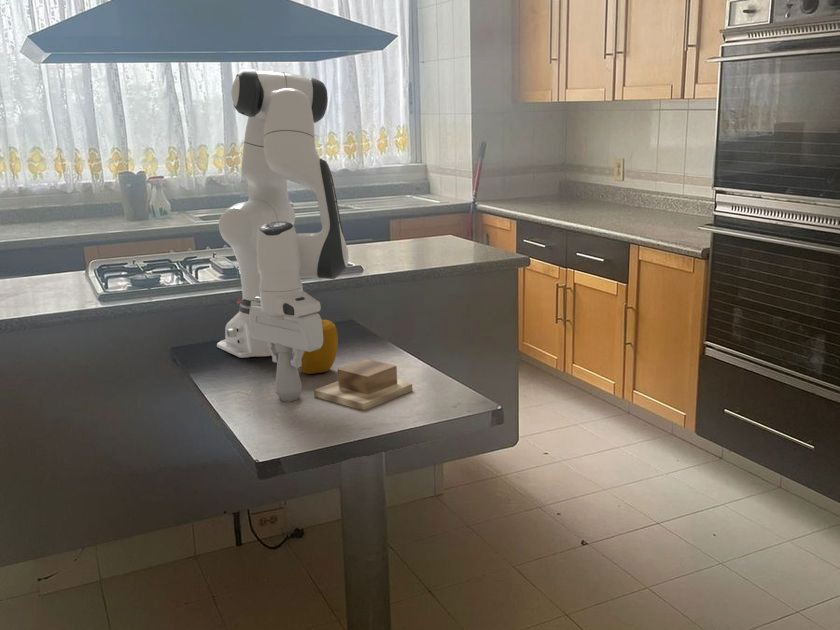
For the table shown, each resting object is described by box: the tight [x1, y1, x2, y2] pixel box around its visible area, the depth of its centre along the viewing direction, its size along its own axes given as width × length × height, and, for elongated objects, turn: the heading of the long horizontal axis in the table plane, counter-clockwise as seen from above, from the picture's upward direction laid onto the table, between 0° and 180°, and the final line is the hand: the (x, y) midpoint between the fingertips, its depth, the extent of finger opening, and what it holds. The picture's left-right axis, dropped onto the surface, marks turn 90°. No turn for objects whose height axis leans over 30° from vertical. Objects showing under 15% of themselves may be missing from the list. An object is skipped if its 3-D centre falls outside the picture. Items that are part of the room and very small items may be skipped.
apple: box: [294, 318, 339, 375], centre depth 190 cm, size 11×11×13 cm
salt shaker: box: [274, 343, 303, 403], centre depth 172 cm, size 6×6×13 cm
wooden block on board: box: [313, 358, 413, 411], centre depth 174 cm, size 15×15×6 cm
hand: (287, 364), depth 172 cm, fingers open, 5 cm apart
